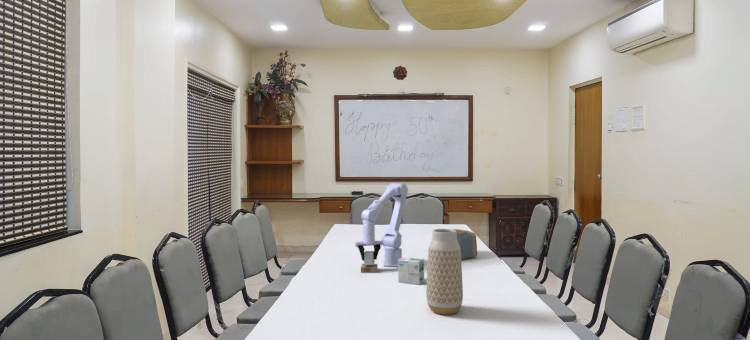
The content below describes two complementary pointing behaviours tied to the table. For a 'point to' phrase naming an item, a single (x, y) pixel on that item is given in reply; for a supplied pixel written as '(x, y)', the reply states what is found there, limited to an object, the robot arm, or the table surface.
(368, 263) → the grey block
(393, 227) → the robot arm
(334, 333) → the table surface
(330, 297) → the table surface
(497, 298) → the table surface
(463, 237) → the alarm clock
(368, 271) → the walnut base
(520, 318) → the table surface
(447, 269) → the vase
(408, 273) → the light bulb box
